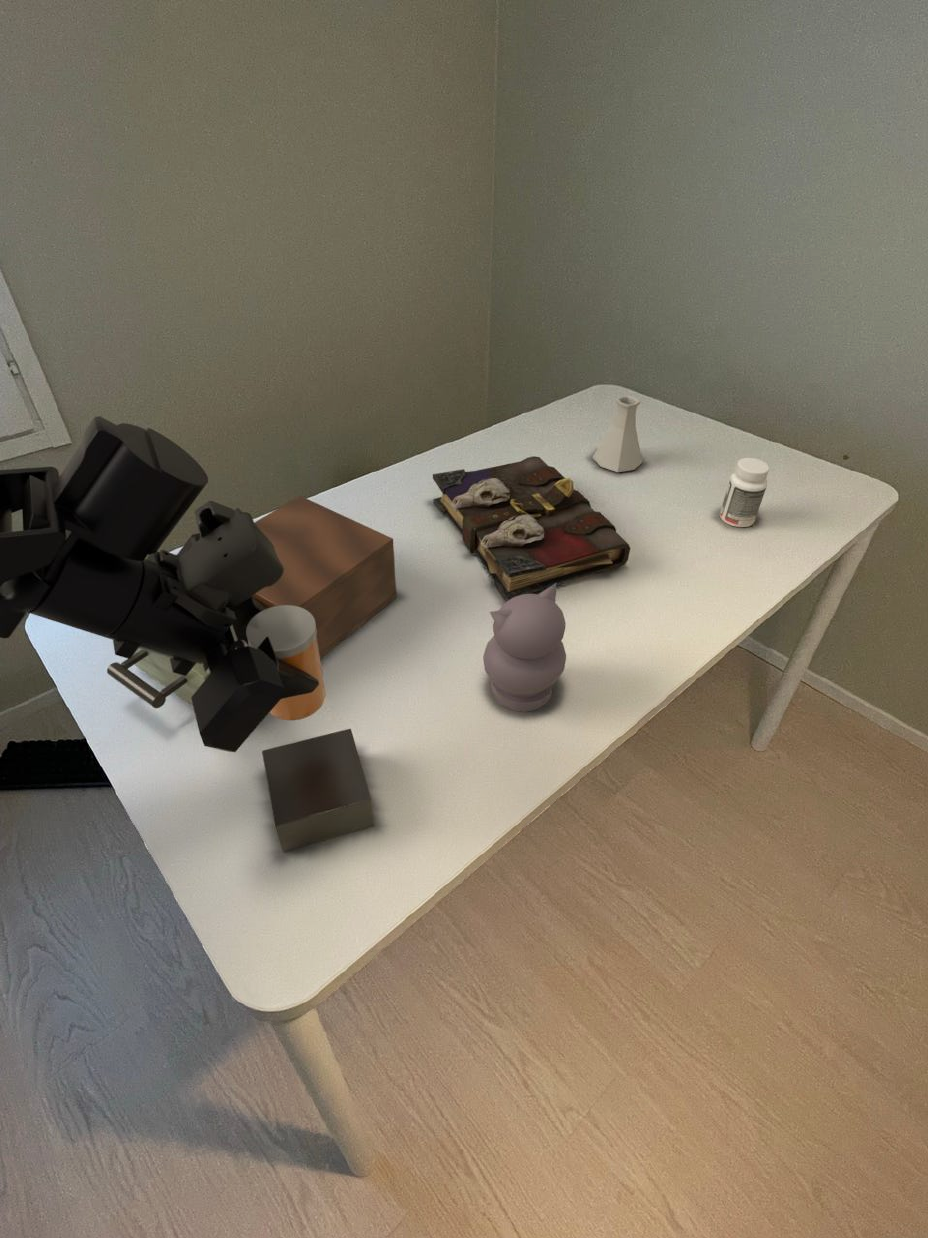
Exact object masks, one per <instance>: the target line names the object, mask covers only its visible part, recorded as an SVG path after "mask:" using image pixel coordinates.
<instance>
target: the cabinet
mask: <svg viewBox="0 0 928 1238" xmlns="http://www.w3.org/2000/svg"><path fill="white" fill-rule="evenodd" d="M254 523H255V524H256V526H257V527H258V528H259V529H260V530H261V531H262V532H263V534H264V535H265V536H266V537H267V538H268V539H269V540H270V541H271V543H272V544H273V545H274V549H275V552H276V554H277V556H278V558H279V560H280V562H281V563H282V565H283V568H284V571H283V575H282V577H281V578H280V579H279V580H278V581H277V582H276V583H275V584H273V585H272V586H270V587H264V588H263V589H261V590H260V591H258V592H257V593H255V594H254V595H252V596H253V597H254V598H256V599H258V600H260V601H261V602H263V603H265V604H267V605H268V606H270V607H275V606H281V605H292V606H298V607H301V608H303V609H305V610H307V611H309V612H310V613H311V614H312V616H313V617H314V619H315V622H316V628H317V635H316V636H317V643H318V649H319V655H320V659H322V658H323V657H324V656H325V655H327V654H328V653H329V652H330V651H332V650H333V649H334V648H335V647H336V646H338V645H340V643H342V642H343V641H345V639H347V638H348V637H349V636H350V635H352V634H353V633H354V632H355V631H356V630H358V629H360V628H361V627H362V626H363V625H364V624H366V623H367V622H368V621H370V619H372V618H373V617H374V616H375V615H376V614H378V613H379V612H380V611H382V610H383V609H384V608H386V606H388V605H389V604H390V603H391V602H393V601H394V600H395V599H396V598H397V583H396V566H395V549H394V538H393V537H390V536H388V535H387V534H384V533H381V532H380V531H377V530H376V529H373V528H371V527H368V526H367V525H365V524H362V523H360V522H358V521H356V520H354V519H352V518H349V517H347V516H345V515H343V514H341V513H338V512H337V511H335V510H332V509H330V508H328V507H325V506H323V505H321V504H319V503H318V502H315V501H313V500H310V499H309V498H307V497H304V496H302V495H298V496H297V497H295V498H293V499H292V500H289V501H288V502H286V503H285V504H283V505H281V506H280V507H278V508H276V509H275V510H273V511H271V512H270V513H268V514H267V515H264V516H263V517H261V518H260V519H258V520H256V521H254Z"/></svg>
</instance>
